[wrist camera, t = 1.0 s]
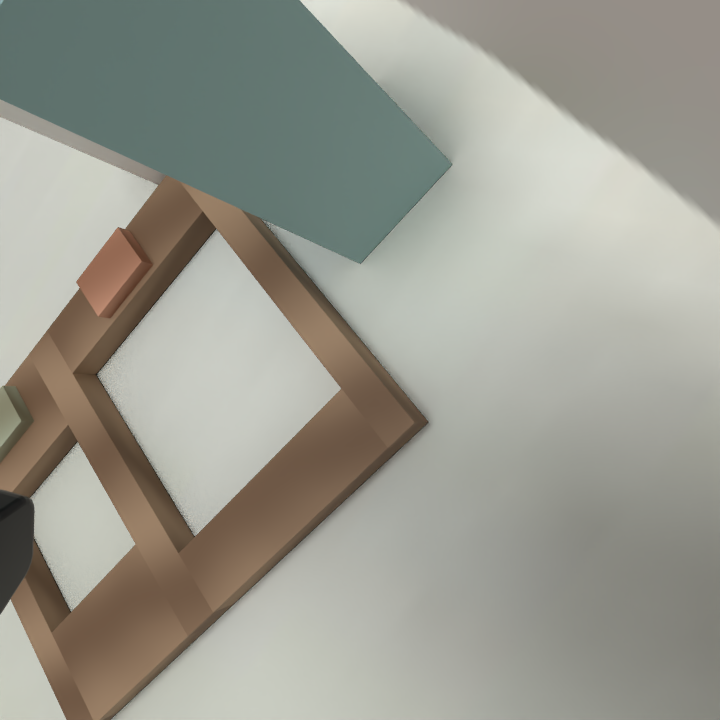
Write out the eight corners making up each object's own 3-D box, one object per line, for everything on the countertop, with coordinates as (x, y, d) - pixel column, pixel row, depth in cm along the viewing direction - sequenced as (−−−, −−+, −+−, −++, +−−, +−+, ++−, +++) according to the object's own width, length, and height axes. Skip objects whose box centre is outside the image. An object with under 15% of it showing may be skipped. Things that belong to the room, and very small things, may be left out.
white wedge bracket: (178, 257, 23) (-83, 81, 18) (173, 143, 30) (-12, -6, 25) (247, 186, 22) (-10, -26, 16) (225, 85, 29) (42, -84, 24)
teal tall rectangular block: (452, 164, 21) (56, -260, 8) (360, 263, 22) (-117, 46, 9) (370, 85, 23) (-75, -380, 9) (289, 182, 24) (-206, -105, 11)
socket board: (428, 421, 21) (407, 423, 19) (101, 727, 26) (63, 748, 25) (209, 156, 26) (177, 140, 24) (-29, 459, 31) (-67, 462, 30)
